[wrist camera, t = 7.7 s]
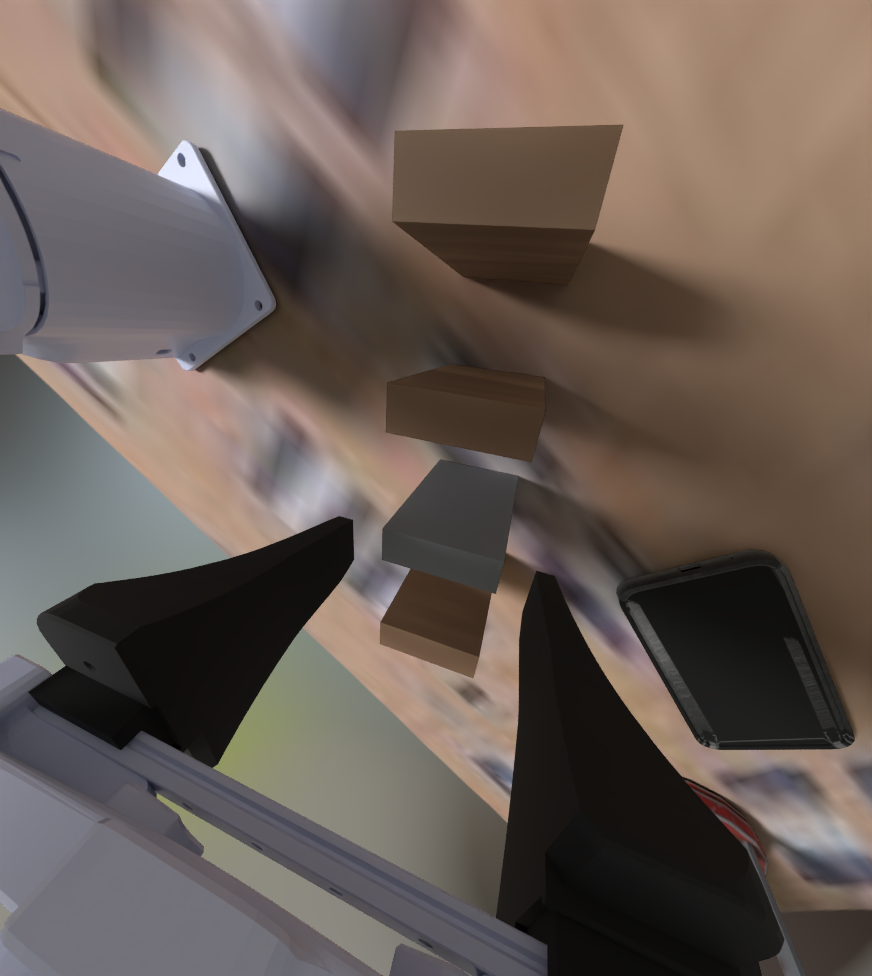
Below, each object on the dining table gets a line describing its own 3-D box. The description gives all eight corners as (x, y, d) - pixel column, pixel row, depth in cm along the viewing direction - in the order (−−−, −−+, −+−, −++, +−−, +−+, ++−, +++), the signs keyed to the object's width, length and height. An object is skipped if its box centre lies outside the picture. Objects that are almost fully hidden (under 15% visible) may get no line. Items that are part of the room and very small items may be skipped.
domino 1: (567, 284, 14) (594, 229, 7) (462, 276, 15) (392, 221, 8) (579, 239, 13) (623, 124, 6) (467, 233, 14) (395, 130, 7)
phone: (701, 749, 22) (612, 593, 18) (694, 732, 23) (609, 580, 19) (862, 749, 18) (785, 553, 15) (845, 728, 19) (770, 539, 16)
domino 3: (512, 499, 19) (495, 593, 12) (437, 482, 20) (382, 559, 13) (518, 476, 18) (503, 561, 11) (440, 459, 19) (382, 528, 12)
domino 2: (536, 409, 16) (531, 462, 9) (448, 394, 17) (385, 432, 10) (544, 377, 15) (546, 409, 8) (452, 363, 16) (387, 382, 10)
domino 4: (495, 568, 21) (473, 678, 14) (429, 549, 22) (379, 643, 15) (500, 549, 20) (479, 657, 14) (431, 531, 22) (380, 622, 15)
